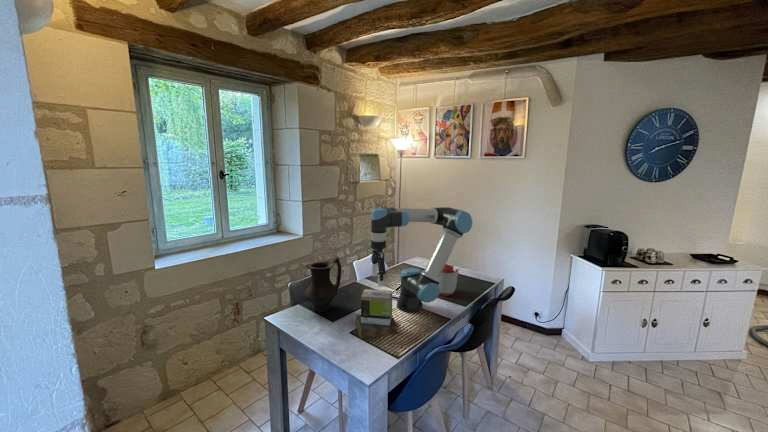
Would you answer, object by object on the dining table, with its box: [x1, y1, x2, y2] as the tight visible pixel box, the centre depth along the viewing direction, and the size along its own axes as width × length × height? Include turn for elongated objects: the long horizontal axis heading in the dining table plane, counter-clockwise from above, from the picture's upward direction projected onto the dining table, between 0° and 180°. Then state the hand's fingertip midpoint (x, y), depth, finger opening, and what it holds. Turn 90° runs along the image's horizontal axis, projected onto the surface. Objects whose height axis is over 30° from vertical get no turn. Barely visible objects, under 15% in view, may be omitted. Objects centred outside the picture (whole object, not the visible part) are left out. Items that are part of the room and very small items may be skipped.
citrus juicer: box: [438, 263, 460, 297], centre depth 209 cm, size 16×17×20 cm
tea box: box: [360, 288, 393, 326], centre depth 163 cm, size 15×10×15 cm
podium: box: [355, 314, 399, 339], centre depth 164 cm, size 19×15×4 cm
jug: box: [304, 256, 342, 313], centre depth 182 cm, size 21×18×30 cm
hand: (377, 280), depth 160 cm, fingers open, 13 cm apart
